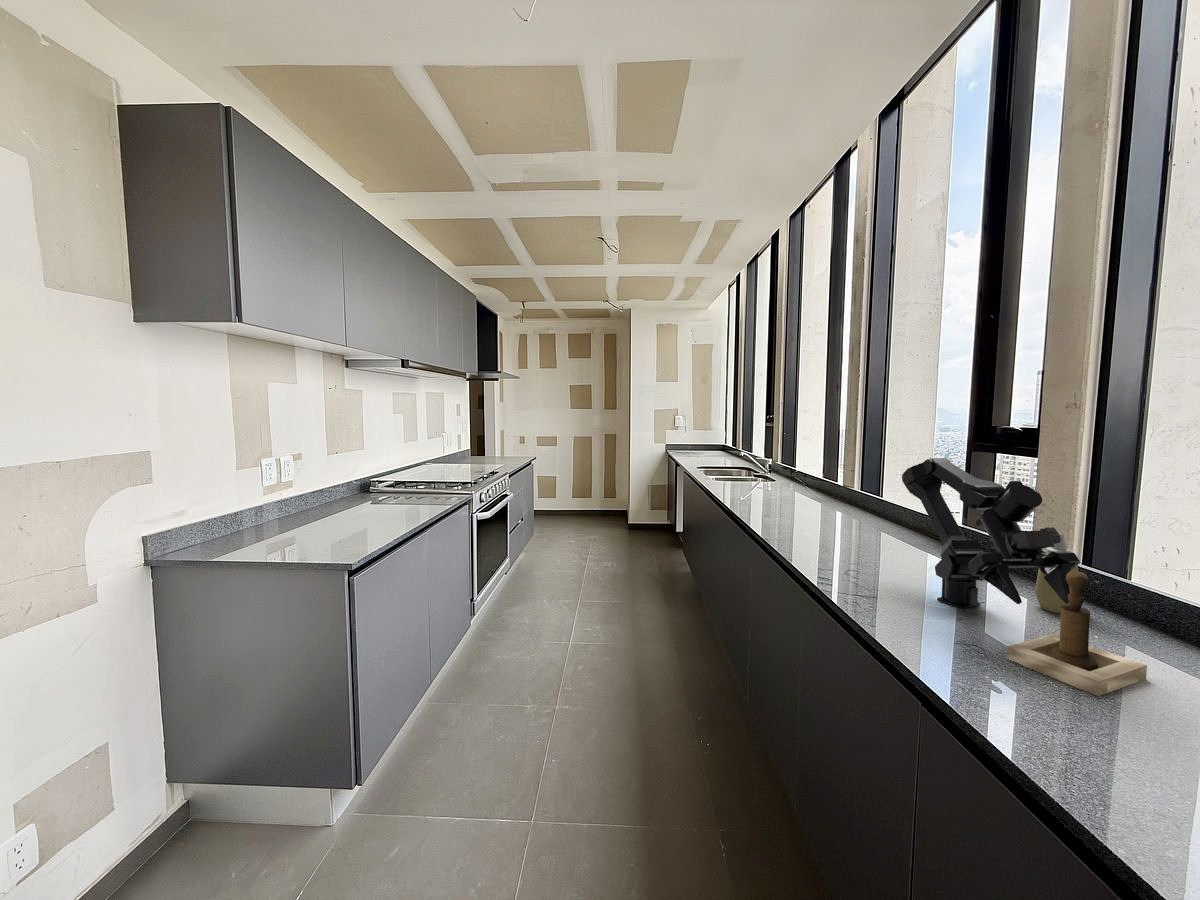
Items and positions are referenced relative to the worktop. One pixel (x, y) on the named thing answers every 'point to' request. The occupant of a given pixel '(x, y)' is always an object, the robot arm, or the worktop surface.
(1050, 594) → the squeeze bottle
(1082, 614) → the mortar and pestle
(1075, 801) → the worktop surface
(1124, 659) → the frame
